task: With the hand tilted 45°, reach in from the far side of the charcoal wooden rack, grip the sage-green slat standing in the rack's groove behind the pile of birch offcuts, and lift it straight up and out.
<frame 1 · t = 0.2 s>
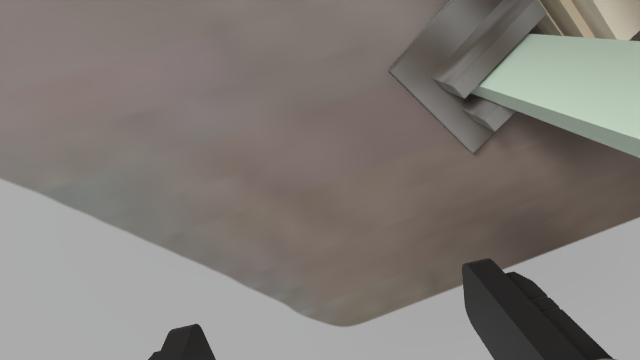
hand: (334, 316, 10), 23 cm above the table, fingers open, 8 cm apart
rack: (478, 62, 31), on the table
slat: (485, 63, 30), point 1 cm above the table, touching rack
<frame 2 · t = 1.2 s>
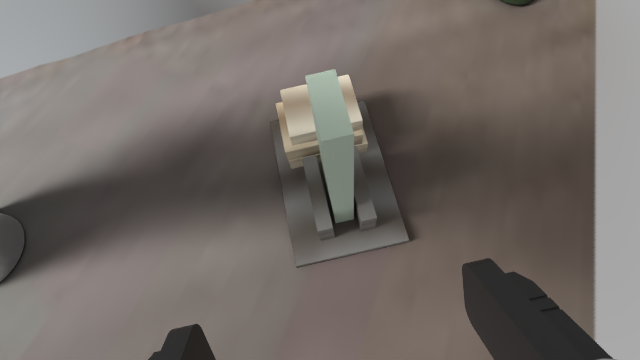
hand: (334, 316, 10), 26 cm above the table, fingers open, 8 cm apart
rack: (339, 202, 39), on the table
slat: (339, 199, 38), point 1 cm above the table, touching rack
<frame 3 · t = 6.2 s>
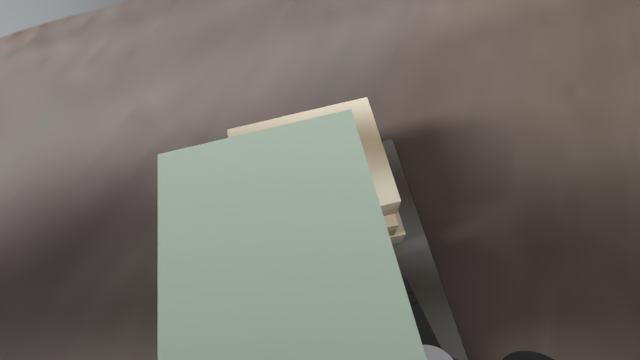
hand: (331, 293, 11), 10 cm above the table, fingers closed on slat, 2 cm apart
rack: (348, 348, 20), on the table
slat: (351, 349, 19), point 1 cm above the table, touching gripper, rack
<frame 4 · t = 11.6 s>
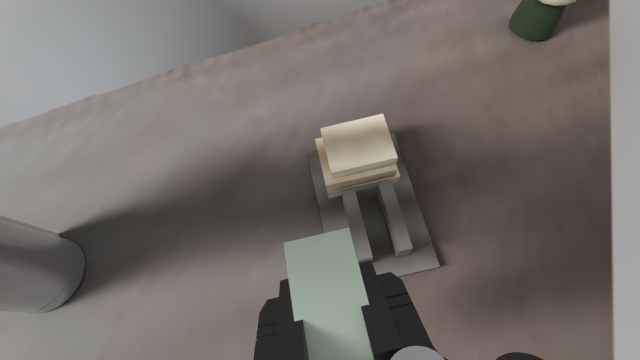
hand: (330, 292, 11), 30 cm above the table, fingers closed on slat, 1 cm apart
rack: (373, 230, 42), on the table
character mug: (528, 29, 52), on the table
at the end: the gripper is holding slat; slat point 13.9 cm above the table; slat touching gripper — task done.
